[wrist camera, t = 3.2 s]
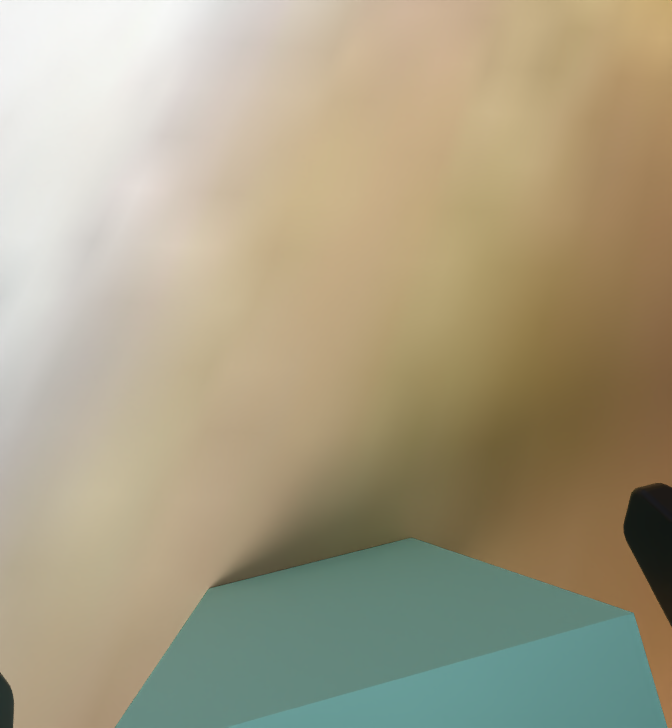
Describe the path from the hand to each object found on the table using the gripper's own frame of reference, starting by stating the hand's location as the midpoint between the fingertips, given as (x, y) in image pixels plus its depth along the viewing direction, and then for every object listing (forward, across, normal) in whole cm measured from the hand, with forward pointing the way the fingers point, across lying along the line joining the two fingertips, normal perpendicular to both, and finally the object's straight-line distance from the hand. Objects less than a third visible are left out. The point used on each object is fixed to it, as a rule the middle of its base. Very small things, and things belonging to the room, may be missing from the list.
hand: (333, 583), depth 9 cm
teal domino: (+4, 0, +6) cm, 7 cm away
